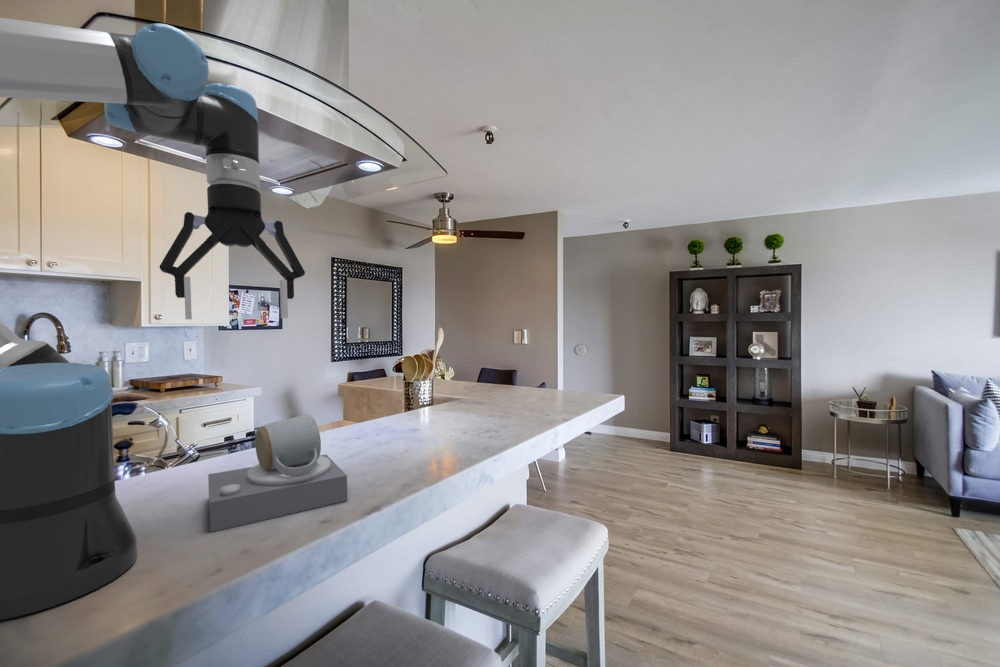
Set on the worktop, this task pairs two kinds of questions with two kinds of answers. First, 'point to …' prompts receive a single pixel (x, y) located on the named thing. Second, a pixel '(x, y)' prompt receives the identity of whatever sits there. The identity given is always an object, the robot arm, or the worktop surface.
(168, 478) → the worktop surface
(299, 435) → the ceramic mug
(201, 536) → the worktop surface
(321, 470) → the grey oval-top base
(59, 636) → the worktop surface
